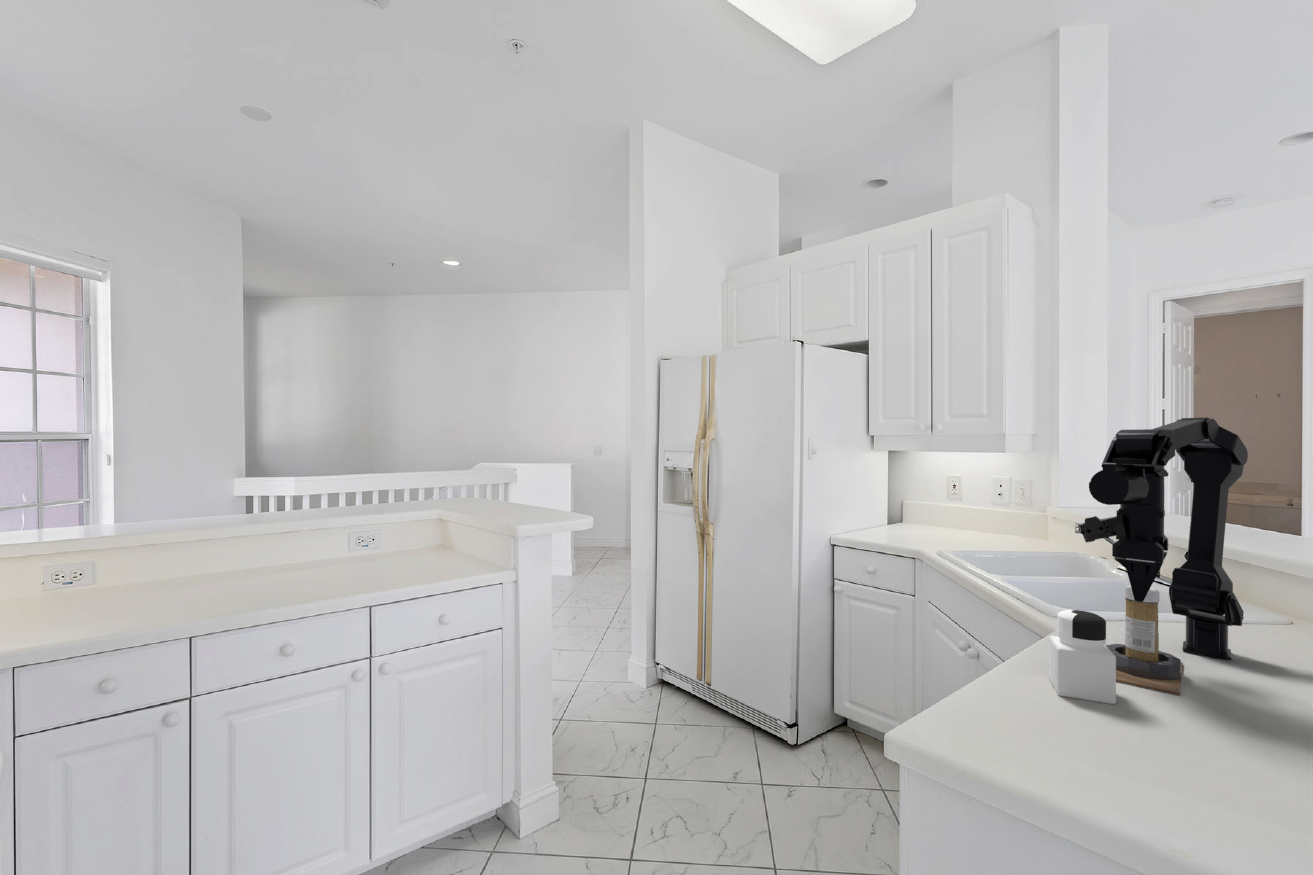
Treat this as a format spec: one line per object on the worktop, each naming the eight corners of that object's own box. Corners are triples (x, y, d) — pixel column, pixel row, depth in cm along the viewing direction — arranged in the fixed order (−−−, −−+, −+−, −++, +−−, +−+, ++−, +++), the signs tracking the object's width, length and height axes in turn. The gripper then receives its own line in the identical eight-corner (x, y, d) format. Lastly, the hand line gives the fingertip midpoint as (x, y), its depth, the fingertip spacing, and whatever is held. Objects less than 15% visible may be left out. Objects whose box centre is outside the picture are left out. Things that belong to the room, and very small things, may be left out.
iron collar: (1108, 653, 106) (1108, 640, 106) (1181, 668, 99) (1181, 654, 99) (1100, 668, 98) (1100, 653, 98) (1179, 685, 92) (1179, 669, 92)
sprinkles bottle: (1163, 669, 98) (1164, 589, 98) (1152, 675, 96) (1153, 592, 96) (1130, 661, 102) (1130, 583, 102) (1119, 665, 99) (1119, 586, 100)
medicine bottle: (1103, 687, 91) (1103, 610, 91) (1116, 705, 85) (1116, 622, 85) (1048, 679, 94) (1049, 604, 94) (1057, 695, 88) (1058, 615, 88)
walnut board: (1110, 650, 109) (1110, 648, 109) (1182, 664, 102) (1182, 662, 102) (1096, 677, 95) (1097, 674, 95) (1179, 695, 89) (1179, 692, 89)
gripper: (1090, 497, 111) (1090, 579, 111) (1074, 502, 98) (1073, 596, 97) (1168, 501, 104) (1168, 590, 103) (1162, 508, 90) (1162, 610, 90)
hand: (1141, 596), depth 99 cm, fingers open, 9 cm apart
